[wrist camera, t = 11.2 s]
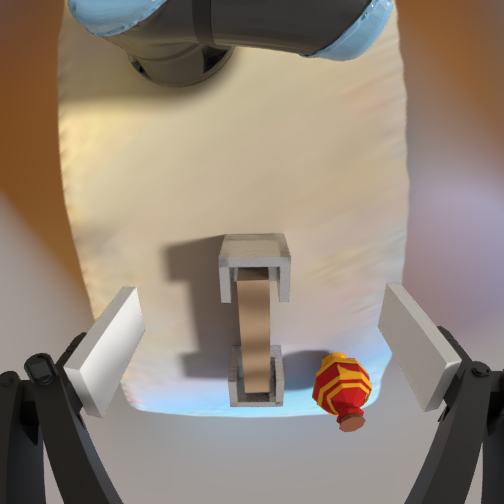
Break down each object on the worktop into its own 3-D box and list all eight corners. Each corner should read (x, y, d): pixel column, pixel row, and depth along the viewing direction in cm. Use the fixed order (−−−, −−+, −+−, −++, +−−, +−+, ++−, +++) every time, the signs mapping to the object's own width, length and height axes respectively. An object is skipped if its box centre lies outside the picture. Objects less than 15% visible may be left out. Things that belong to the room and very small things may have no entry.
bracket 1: (283, 271, 46) (289, 301, 37) (227, 272, 46) (221, 302, 38) (283, 233, 44) (290, 256, 35) (225, 234, 44) (218, 257, 35)
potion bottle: (297, 374, 53) (306, 438, 39) (325, 334, 50) (345, 397, 36) (341, 387, 55) (358, 445, 41) (371, 350, 52) (398, 408, 37)
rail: (238, 264, 42) (236, 280, 38) (267, 264, 42) (269, 279, 38) (245, 372, 49) (245, 392, 45) (269, 371, 49) (270, 392, 45)
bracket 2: (231, 345, 51) (228, 382, 43) (280, 345, 51) (284, 381, 42) (233, 370, 53) (230, 406, 45) (279, 370, 53) (282, 406, 45)
